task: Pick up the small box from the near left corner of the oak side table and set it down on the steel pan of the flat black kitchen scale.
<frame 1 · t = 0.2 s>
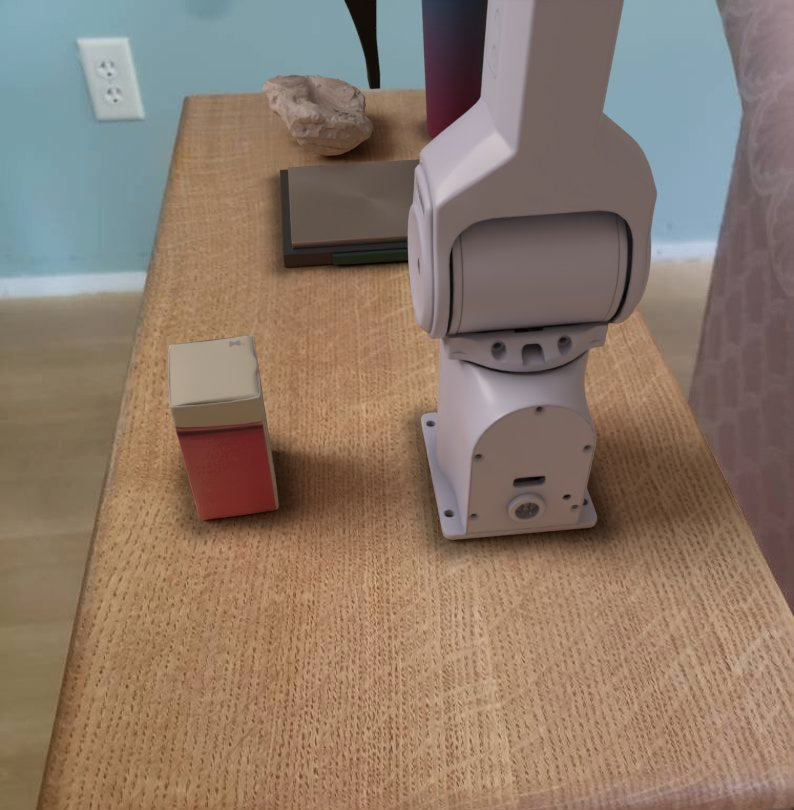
hand: (430, 80, 58), 10 cm above the table, tool pointing down, fingers open, 7 cm apart
cup: (455, 132, 75), on the table
small box: (237, 487, 46), on the table
scale: (367, 216, 65), on the table
fossil: (319, 140, 75), on the table
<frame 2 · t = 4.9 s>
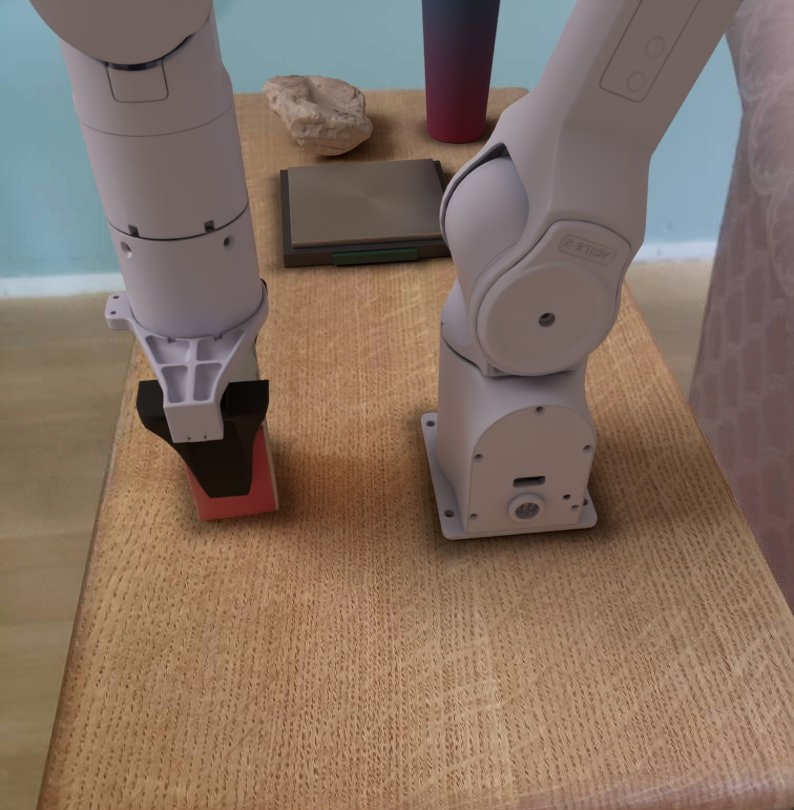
hand: (230, 452, 45), 2 cm above the table, tool pointing down, fingers closed on small box, 5 cm apart
small box: (237, 488, 46), on the table, touching gripper
everything else where it was.
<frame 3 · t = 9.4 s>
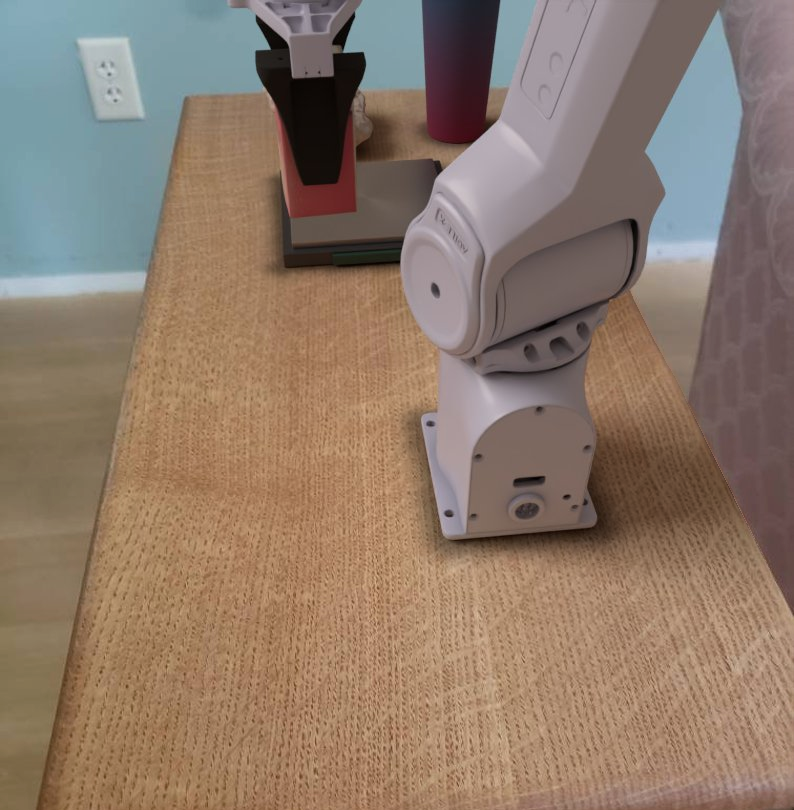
hand: (317, 159, 51), 9 cm above the table, tool pointing down, fingers closed on small box, 5 cm apart
small box: (319, 201, 53), point 7 cm above the table, touching gripper
everything else where it was.
when the fingers open (4 cm above the table, at t = 14.2 s): small box stays where it is, resting on scale.
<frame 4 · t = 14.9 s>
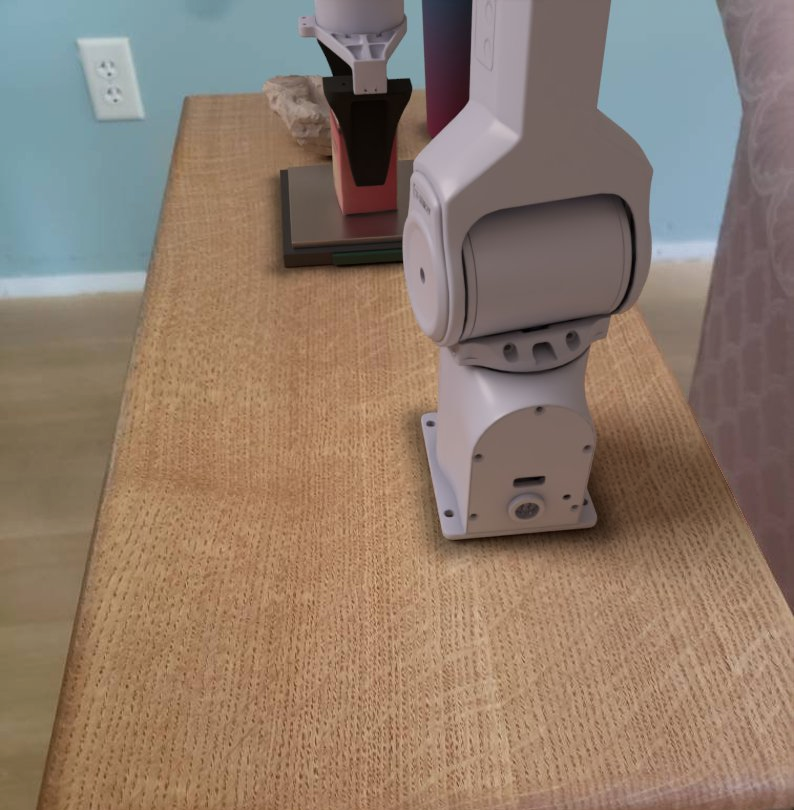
hand: (365, 158, 62), 4 cm above the table, tool pointing down, fingers open, 7 cm apart
small box: (365, 200, 64), point 1 cm above the table, touching scale
everything else where it was.
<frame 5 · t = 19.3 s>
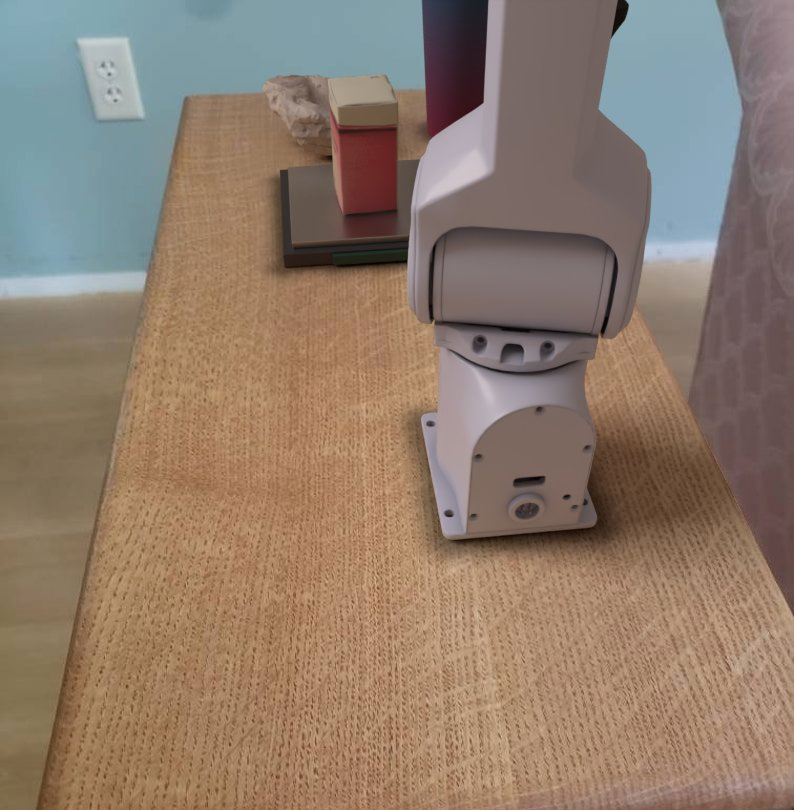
hand: (541, 99, 54), 10 cm above the table, tool pointing down, fingers open, 7 cm apart
nothing on the table moved.
at the end: small box inside the target area on the scale (0.1 cm from its centre), point 1.3 cm above the scale's base; small box tilted 0°; the gripper is holding nothing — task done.
